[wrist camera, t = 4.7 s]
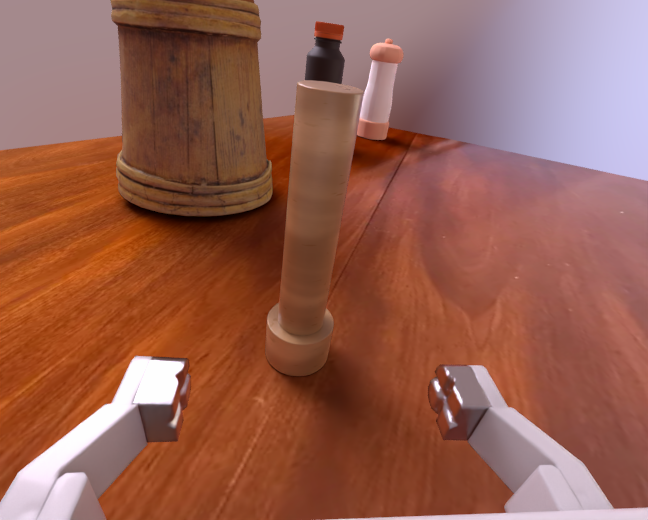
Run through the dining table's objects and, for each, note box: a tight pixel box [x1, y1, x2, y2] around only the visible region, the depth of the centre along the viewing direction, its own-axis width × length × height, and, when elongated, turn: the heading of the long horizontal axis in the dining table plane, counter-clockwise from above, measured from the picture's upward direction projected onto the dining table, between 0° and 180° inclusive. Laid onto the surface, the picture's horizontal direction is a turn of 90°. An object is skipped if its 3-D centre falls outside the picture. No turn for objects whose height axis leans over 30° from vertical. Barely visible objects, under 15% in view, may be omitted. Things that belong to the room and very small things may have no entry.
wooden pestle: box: [265, 80, 364, 376], centre depth 20 cm, size 4×4×17 cm
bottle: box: [305, 21, 345, 84], centre depth 66 cm, size 7×7×20 cm
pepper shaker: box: [357, 39, 403, 140], centre depth 77 cm, size 7×7×19 cm
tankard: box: [111, 0, 273, 216], centre depth 41 cm, size 18×24×25 cm
